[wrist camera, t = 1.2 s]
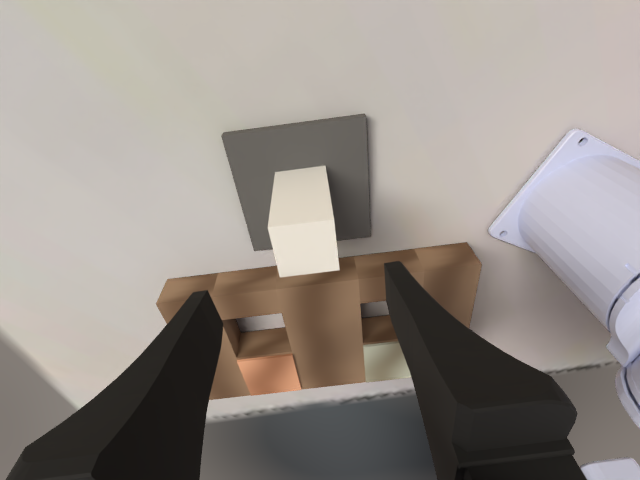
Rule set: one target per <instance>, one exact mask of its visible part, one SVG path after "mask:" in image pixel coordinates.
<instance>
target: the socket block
mask: <svg viewBox="0 0 640 480" xmlns="http://www.w3.org/2000/svg"><path fill="white" fill-rule="evenodd" d="M338 260H339V269H340V270H337V271H329V272H321V273H313V274H305V275H297V276H288V277H280V276H279V272H278V268H277V266H271V267H263V268H255V269H247V270H239V271H231V272H223V273H215V274H207V275H199V276H191V277H182V278H174V279H167V281H166V283H165V286H164V288H163V290H162V292H161V294H160V296H159V299H158V301H157V303H156V305H157V307H158V309H159V310H160V312H161V314H162V316H163V318H164V319H165V321H166V323H167V324H168V323H169V321H170V320H171V319H172V318H173V317H174V315H175V314H176V313H177V312H178V310H179V309H180V308H181V306H182V305H183V304H184V303H185V301H186V300H187V299H188V298H189V296H190V295H191V294H192V293H193V292H198V291H204V290H208V292H209V294H210V296H211V298H212V301H213V303H214V305H215V307H216V309H217V311H218V313H219V315H220V317H221V320H222V322H223V335H222V344H221V350H220V355H219V359H218V363H217V368H216V372H215V376H214V380H213V384H212V389H211V393H210V397H209V400H213V399H222V398H230V397H239V396H248V395H251V396H252V395H261V394H270V393H278V392H287V391H296V390H301V389H309V388H318V387H327V386H335V385H344V384H353V383H362V382H375V381H383V380H392V379H401V378H410V377H411V374H410V371H409V368H408V366H407V363H406V360H405V357H404V355H403V352H402V349H401V347H400V344H399V341H398V338H397V336H396V333H395V330H394V328H393V325H392V322H391V318H390V315H386V316H378V317H369V318H361V308H360V304H361V303H369V302H377V301H386V289H385V272H384V263H388V262H395V261H400V262H402V263H403V265H404V266H405V267H406V269H407V270H408V271H409V272H410V274H411V275H412V276H413V277H414V278H415V279H416V280H417V282H418V283H419V284H420V285H421V286H422V287H423V288H424V289H425V290H426V291H427V292H428V293H429V294H430V295H431V296H432V297H433V298H434V299H435V300H436V301H437V302H438V303H439V304H440V305H441V306H442V307H443V308H444V309H446V310H447V311H448V312H449V313H450V314H451V315H452V316H454V317H455V318H456V319H457V320H458V321H460V322H461V323H462V324H464V325H465V326H466V327H467V328H469V326H470V321H471V316H472V311H473V306H474V301H475V296H476V291H477V286H478V281H479V276H480V271H481V266H482V264H481V262H480V261H479V259H478V258H477V257H476V255H475V254H474V252H473V251H472V249H471V248H470V246H469V245H468V243H467V242H466V243H458V244H450V245H441V246H433V247H425V248H417V249H409V250H401V251H393V252H385V253H377V254H369V255H361V256H352V257H344V258H338ZM277 313H282V316H283V320H284V323H285V328H277V329H268V330H260V331H251V332H243V333H241V332H240V329H239V327H238V324H237V321H236V318H244V317H252V316H261V315H269V314H277Z"/></svg>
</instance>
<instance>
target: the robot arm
mask: <svg viewBox="0 0 640 480" xmlns="http://www.w3.org/2000/svg"><path fill="white" fill-rule="evenodd" d="M582 138H583V140H582V142H580V143H579V144H578V142H579V141H580V140H581V139H582ZM502 231H504V232H503V233H501V232H502ZM488 232H489V234H490V235H491V236H492V237H494V238H497V239H500V240H502V241H505V242H507V243H510V244H513V245H515V246H518V247H521V248H523V249H526V250H528V251H531V252H534V253H536V254H538V256H539V257H540V258H541V259H542V260H543V261H544V262H545V263H546V264H547V265H548V266H549V267H550V268H551V270H552V271H553V272H554V273H555V274H556V275H557V276H558V277H559V278H560V279H561V280H562V281H563V282H564V284H565V285H566V286H567V287H568V288H569V289H570V290H571V291H572V292H573V293H574V294H575V295H576V296H577V298H578V299H579V300H580V301H581V302H582V303H583V304H584V305H585V306H586V307H587V308H588V309H589V310H590V312H591V313H592V314H593V315H594V316H595V317H596V318H597V319H598V320H599V321H600V322H601V323H602V324H603V326H604V327H605V328H606V329H607V330H608V331H609V332H610V333H611V339H610V341H609V342H608V344H607V345H606V348H607V349H608V350H609V351H610V353H611V354H612V355H613V356H614V357H615V358H616V359H617V361H618V362H619V363H620V364H621V365H622V366H621V367H620V368H619V370H618V372H617V373H616V378H615V384H616V391H617V394H618V396H619V399H620V401H621V403H622V405H623V407H624V409H625V410H626V412H627V413H628V415H629V416H630V418H631V419H632V420H633V422H634V423H635V424H636V425H637V426H638V428H639V429H640V161H639V160H637V159H635V158H633V157H632V156H630V155H628V154H626V153H624V152H622V151H620V150H618V149H617V148H615V147H613V146H611V145H609V144H607V143H605V142H603V141H602V140H600V139H598V138H596V137H594V136H592V135H590V134H589V133H587V132H585V131H583V130H581V129H578V128H576V129H572V130H570V131H569V132H568V133H567V134H566V135H565V136H564V138H563V139H562V140H561V141H560V142H559V144H558V145H557V146H556V147H555V148H554V150H553V151H552V152H551V153H550V155H549V156H548V157H547V158H546V159H545V161H544V162H543V163H542V164H541V165H540V167H539V168H538V169H537V170H536V171H535V173H534V174H533V175H532V176H531V177H530V179H529V180H528V181H527V182H526V183H525V185H524V186H523V187H522V188H521V190H520V191H519V192H518V193H517V194H516V196H515V197H514V198H513V199H512V200H511V202H510V203H509V204H508V205H507V206H506V208H505V209H504V210H503V211H502V212H501V214H500V215H499V216H498V217H497V219H496V220H495V221H494V222H493V223H492V225H491V226H490V227H489V229H488ZM500 233H501V234H500ZM384 272H385V289H386V301H387V305H388V310H389V314H390V318H391V322H392V325H393V328H394V330H395V333H396V336H397V338H398V341H399V344H400V347H401V349H402V352H403V355H404V357H405V360H406V363H407V366H408V368H409V371H410V374H411V377H412V380H413V383H414V387H415V391H416V395H417V398H418V402H419V406H420V410H421V414H422V418H423V422H424V426H425V430H426V434H427V438H428V442H429V446H430V450H431V454H432V458H433V462H434V467H435V471H436V475H437V479H438V480H640V466H639V465H638V464H637V462H636V461H635V460H634V459H633V458H630V457H626V458H617V459H609V460H601V461H593V462H589V463H586V464H583V465H582V466H580V467H579V466H578V465H577V463H576V461H575V459H574V457H573V456H572V455H573V454H574V453H575V452H574V449H573V447H572V445H571V444H570V442H569V440H568V439H567V436H568V434H569V432H570V430H571V429H572V427H573V425H574V423H575V420H576V417H577V411H576V408H575V407H574V405H573V404H572V403H571V401H570V399H569V398H568V397H567V395H566V394H565V393H564V391H563V390H562V389H561V388H560V386H559V385H558V384H557V383H556V382H555V381H554V379H553V378H552V377H551V376H549V375H547V374H545V373H543V372H541V371H539V370H537V369H535V368H533V367H531V366H529V365H527V364H525V363H523V362H521V361H519V360H517V359H516V358H514V357H512V356H510V355H508V354H507V353H505V352H503V351H502V350H500V349H499V348H497V347H495V346H494V345H492V344H491V343H489V342H488V341H486V340H485V339H483V338H481V337H480V336H478V335H477V334H476V333H474V332H473V331H472V330H470V329H469V328H467V327H466V326H465V325H464V324H462V323H461V322H460V321H458V320H457V319H456V318H455V317H454V316H452V315H451V314H450V313H449V312H448V311H447V310H446V309H444V308H443V307H442V306H441V305H440V304H439V303H438V302H437V301H436V300H435V299H434V298H433V297H432V296H431V295H430V294H429V293H428V292H427V291H426V290H425V289H424V288H423V287H422V286H421V285H420V284H419V283H418V282H417V280H416V279H415V278H414V277H413V276H412V275H411V274H410V272H409V271H408V270H407V269H406V267H405V266H404V265H403V263H402V262H400V261H395V262H388V263H384ZM222 335H223V322H222V320H221V317H220V315H219V313H218V311H217V309H216V307H215V305H214V303H213V301H212V298H211V296H210V294H209V292H208V290H204V291H198V292H193V293H192V294H191V295H190V296H189V298H188V299H187V300H186V301H185V303H184V304H183V305H182V306H181V308H180V309H179V310H178V312H177V313H176V314H175V315H174V317H173V318H172V319H171V320H170V321H169V323H168V324H167V325H166V326H165V328H164V329H163V330H162V331H161V332H160V334H159V335H158V336H157V337H156V338H155V339H154V340H153V342H152V343H151V344H150V345H149V346H148V347H147V348H146V349H145V351H144V352H143V353H142V354H141V355H140V356H139V357H138V358H137V359H136V360H135V361H134V362H133V363H132V364H131V365H130V366H129V367H128V368H127V369H126V370H125V371H124V372H123V373H122V374H121V375H120V376H119V377H118V378H117V379H115V380H114V381H113V382H112V383H111V384H110V385H108V386H107V387H106V388H105V389H104V390H103V391H102V392H100V393H99V394H98V395H97V396H96V397H95V398H93V399H92V400H91V401H90V402H88V403H87V404H86V405H85V406H83V407H82V408H81V409H79V410H78V411H77V412H76V413H74V414H73V415H71V416H70V417H69V418H68V419H66V420H65V421H63V422H62V423H61V424H59V425H58V426H56V427H55V428H54V429H52V430H51V431H49V432H48V433H46V434H45V435H43V436H42V437H40V438H39V439H37V440H36V441H34V442H33V443H31V444H30V445H28V446H27V447H25V449H24V451H23V452H22V454H21V455H20V457H19V459H18V460H17V462H16V464H15V465H14V467H13V468H12V470H11V472H10V473H9V475H8V477H7V478H6V480H199V477H200V465H201V454H202V445H203V435H204V428H205V420H206V413H207V407H208V402H209V397H210V393H211V389H212V384H213V380H214V376H215V372H216V368H217V363H218V359H219V355H220V350H221V344H222Z"/></svg>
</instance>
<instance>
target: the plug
mask: <svg viewBox="0 0 640 480" xmlns="http://www.w3.org/2000/svg"><path fill="white" fill-rule="evenodd" d="M268 231H269V235H270V239H271V243H272V247H273V252H274V256H275V260H276V264H277V268H278V272H279V276H280V277H288V276H297V275H305V274H313V273H321V272H329V271H337V270H340V269H339V260H338V250H337V241H336V232H335V223H334V216H333V209H332V203H331V197H330V191H329V184H328V178H327V172H326V166H318V167H311V168H303V169H295V170H288V171H280V172H275V176H274V184H273V191H272V199H271V206H270V214H269V221H268Z"/></svg>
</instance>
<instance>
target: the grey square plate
mask: <svg viewBox="0 0 640 480" xmlns="http://www.w3.org/2000/svg"><path fill="white" fill-rule="evenodd" d="M222 140H223V143H224V147H225V150H226V154H227V157H228V161H229V164H230V168H231V171H232V175H233V178H234V182H235V185H236V189H237V192H238V196H239V199H240V203H241V206H242V210H243V213H244V217H245V220H246V224H247V227H248V231H249V234H250V238H251V241H252V245H253V248H254V251H258V250H266V249H273V247H272V243H271V239H270V235H269V231H268V221H269V214H270V206H271V199H272V191H273V184H274V176H275V172H280V171H288V170H295V169H303V168H311V167H318V166H326V172H327V178H328V184H329V191H330V197H331V203H332V209H333V216H334V223H335V232H336V241H338V240H346V239H354V238H362V237H370V236H371V231H370V205H369V179H368V153H367V126H366V116H365V114H359V115H351V116H344V117H336V118H329V119H321V120H314V121H306V122H299V123H291V124H284V125H277V126H269V127H262V128H254V129H247V130H239V131H232V132H224V133H223V134H222Z"/></svg>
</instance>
